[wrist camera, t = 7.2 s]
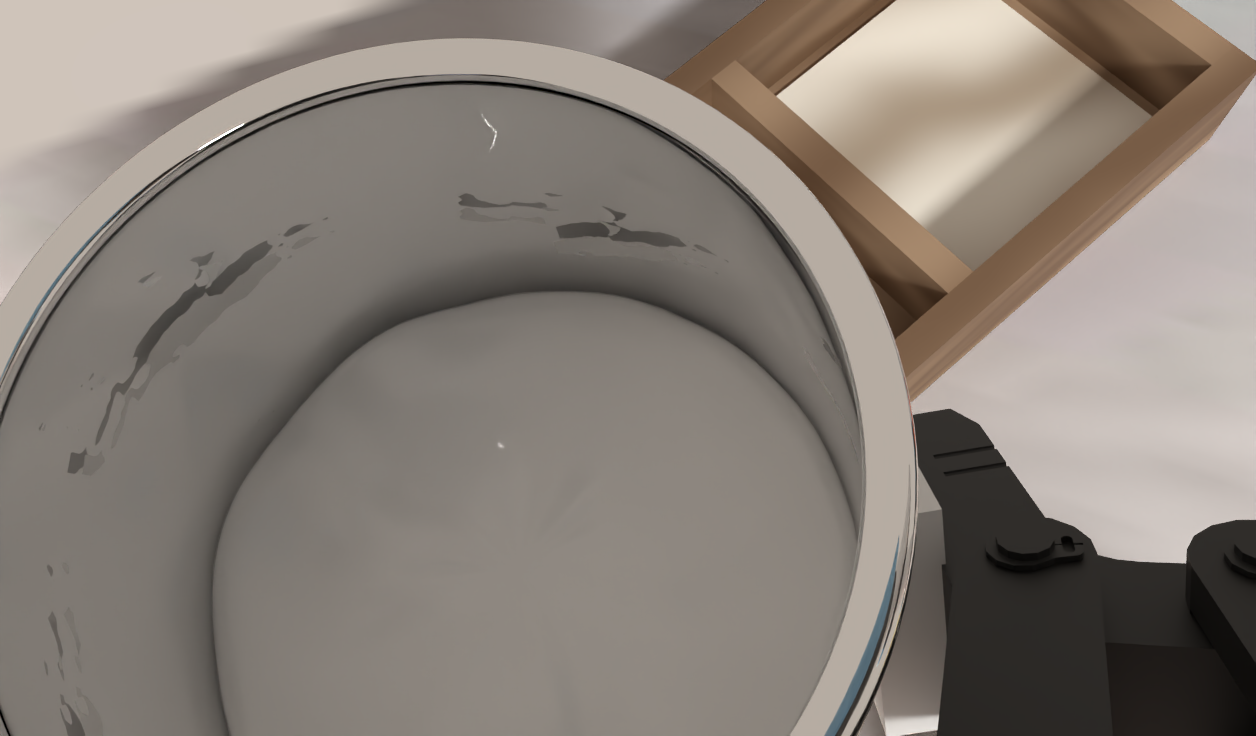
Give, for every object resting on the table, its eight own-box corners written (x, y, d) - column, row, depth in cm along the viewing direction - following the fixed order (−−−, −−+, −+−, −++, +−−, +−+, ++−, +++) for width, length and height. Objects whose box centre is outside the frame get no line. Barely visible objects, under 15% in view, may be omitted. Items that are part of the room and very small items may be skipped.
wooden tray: (1209, 139, 36) (1262, 65, 33) (684, 601, 33) (677, 577, 29) (941, -65, 40) (961, -152, 37) (446, 326, 37) (413, 274, 33)
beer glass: (450, 516, 22) (-43, 74, 9) (790, 479, 22) (858, -52, 8) (458, 890, 20) (-217, 1130, 6) (844, 858, 20) (1076, 1036, 6)
